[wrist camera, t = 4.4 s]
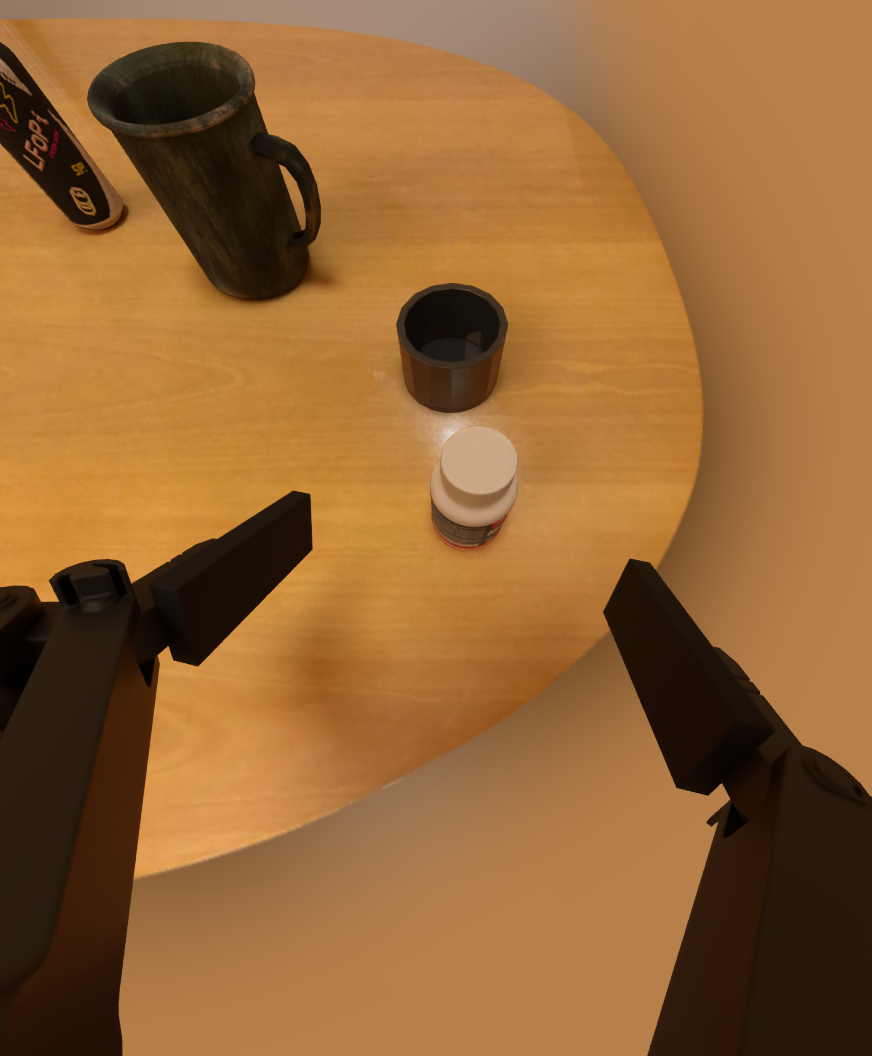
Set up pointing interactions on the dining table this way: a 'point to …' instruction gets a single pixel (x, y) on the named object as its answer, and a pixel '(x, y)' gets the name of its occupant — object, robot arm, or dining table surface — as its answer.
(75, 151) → the beverage can
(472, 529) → the pill bottle
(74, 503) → the dining table surface
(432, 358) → the dark grey round container
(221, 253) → the mug
